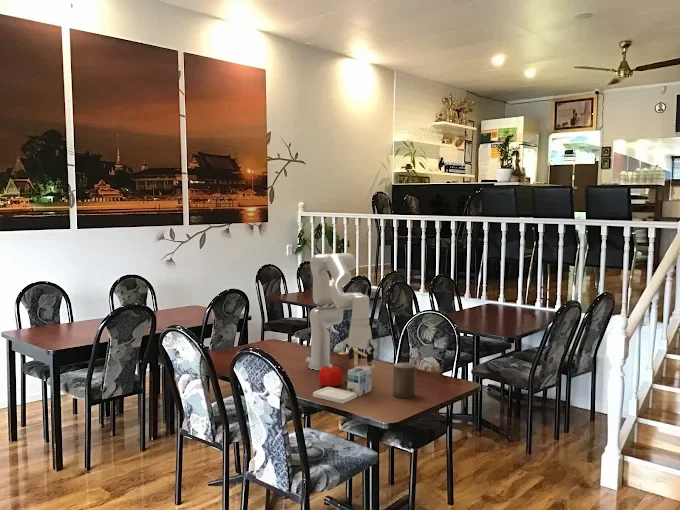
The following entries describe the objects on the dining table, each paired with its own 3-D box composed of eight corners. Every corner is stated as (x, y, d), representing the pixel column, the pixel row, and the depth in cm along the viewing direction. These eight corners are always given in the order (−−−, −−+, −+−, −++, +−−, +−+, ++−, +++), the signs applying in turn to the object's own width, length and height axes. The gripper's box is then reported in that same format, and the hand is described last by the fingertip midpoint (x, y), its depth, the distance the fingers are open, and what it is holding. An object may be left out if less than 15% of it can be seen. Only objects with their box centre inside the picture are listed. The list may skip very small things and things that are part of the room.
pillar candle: (414, 399, 258) (415, 365, 257) (391, 397, 260) (392, 364, 259) (415, 392, 268) (416, 360, 267) (393, 391, 269) (394, 358, 268)
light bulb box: (359, 396, 261) (360, 372, 260) (346, 394, 265) (347, 370, 264) (371, 390, 270) (372, 367, 269) (359, 388, 273) (359, 365, 273)
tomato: (315, 388, 272) (315, 369, 271) (323, 381, 284) (323, 362, 283) (338, 390, 269) (338, 371, 268) (345, 383, 281) (345, 364, 280)
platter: (312, 396, 260) (312, 392, 260) (327, 390, 269) (327, 386, 269) (342, 403, 251) (342, 399, 251) (357, 397, 260) (357, 393, 260)
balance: (334, 381, 284) (335, 344, 283) (342, 378, 289) (342, 342, 288) (370, 388, 273) (370, 350, 271) (376, 385, 278) (377, 347, 276)
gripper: (339, 321, 267) (339, 359, 268) (372, 325, 257) (372, 365, 258) (349, 319, 273) (349, 356, 274) (381, 323, 263) (381, 361, 264)
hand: (360, 360), depth 266 cm, fingers open, 9 cm apart
